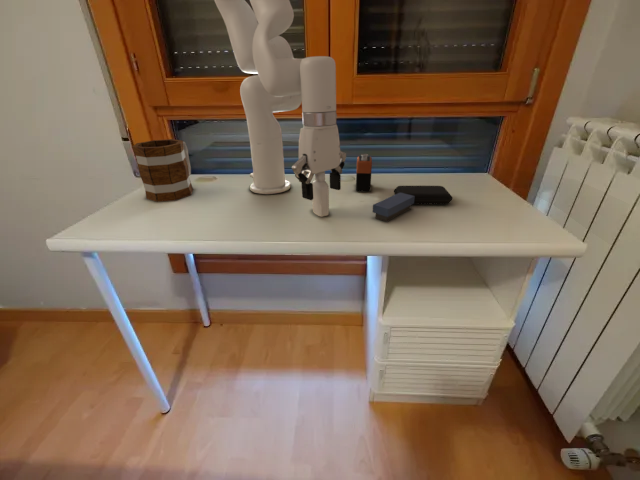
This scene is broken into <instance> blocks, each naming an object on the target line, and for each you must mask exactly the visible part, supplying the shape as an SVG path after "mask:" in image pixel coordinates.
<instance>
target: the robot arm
mask: <svg viewBox="0 0 640 480" xmlns="http://www.w3.org/2000/svg"><path fill="white" fill-rule="evenodd" d="M213 1H214V3H215V5H216V8H217V10H218V11H219V13H220V16H221V17H222V20H223V22H224V25H225V27H226V31H227V34H228V38H229V41H230V45H231V48H232V52H233V55H234V59H235V61H236V64H237V67H238V68H239V70H241V72H242V73H245V74H253V75H251V76H247V77H246V78H244V79H243V81H242V82H241V84H240V87H239V88H240V89H239V93H240V98H241V99H240V100H241V102H242V106H243V110H244V114H245V117H246V125H247V130H248V138H249V146H250V155H251V164H252V172H251V173H249V177H250V178H252V181H253V182H252V183H250V185H249V190H250V191H251V192H252V193H255V194H260V195H274V194H279V193H283V192H286V191H288V190H289V189H290V188H291V182H290V181H289V180H286V174H285V171H286V170H285V158H284V157H285V156H284V143H283V132H282V127H281V125H280V122H279V121H278V119H277V118H276V117H275V115H274V114H273V113H279V112H281V113H282V112H291V111H295V110H297V109H298V108H300V106H301V111H302V113H301V115H302V127H301V128H300V129H299V138H298V160H297V161H295V163H294V164H293V165H291V170H292V172H293V174H294V177H295V178H296V179H297V180H298V182H299V183H301V197H302V198H303V199H305V200H308V201H312V200H313V184H312V183H313V182H311V181H312V180H313V178H314V177H315V174H317V173H321V172H328V171H330V172H329V189H332V190H335V191H340V190H341V189H342V188H341V187H342V185H341V182H342V181H341V177H342V176H341V175H342V174H343V168H344V166H345V164H346V163H345V162H346V159H347V153H346V152H344V151H342V150H341V142H340V133H339V127H338V125H337V119H338V114H337V74H336V73H337V66H336V60H335V59H334V58H333V57H331V56H327V55H315V56H307V57H304V58H297V57H296V58H295V57H294V53H293V51H292V48H291V45H290V44H289V42H288V40H286V38H284V37H283V36H280V35H282V34H283V33H285V32H286V31H287V30H289V28H290V27H291V26H292V24H293V21H294V17H295V14H294V13H295V12H294V9H293V6H292V3H291V0H249V2H250V4H249V3H248V2H247V1H246V0H213ZM250 5H251V6H250Z"/></svg>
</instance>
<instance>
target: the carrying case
mask: <svg viewBox="0 0 640 480" xmlns="http://www.w3.org/2000/svg"><path fill="white" fill-rule="evenodd" d="M393 193H394V194H393V195H395V194H398V193H404V194H408V195H412V196H415V199H414V204H413V205H448V204H450V203H451V202H452V201H453V199H454V198H453V196H452V195H451V193H450V192H449V191H448V190H447V189H446V188H445V186H442V185H398V186H397V187H395V188H394V189H393Z"/></svg>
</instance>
